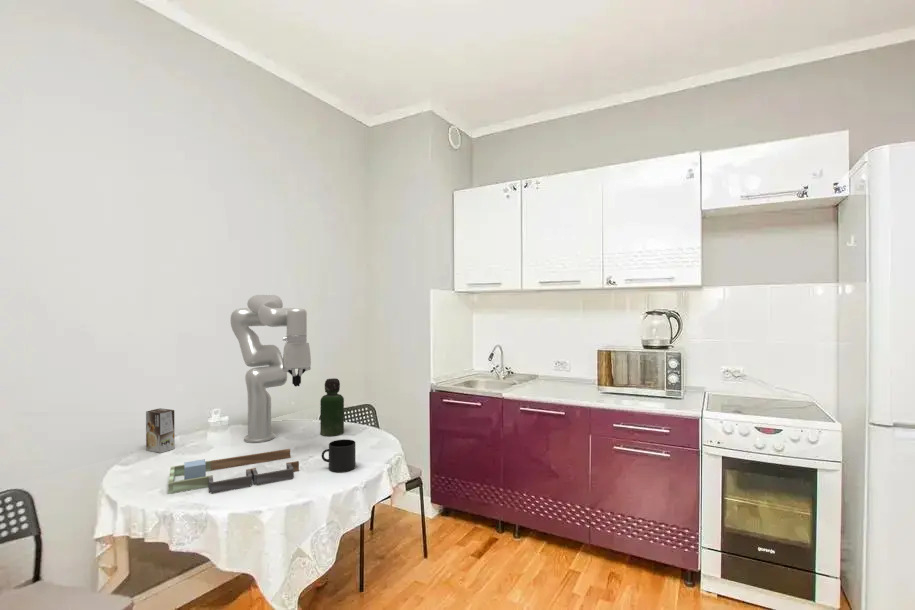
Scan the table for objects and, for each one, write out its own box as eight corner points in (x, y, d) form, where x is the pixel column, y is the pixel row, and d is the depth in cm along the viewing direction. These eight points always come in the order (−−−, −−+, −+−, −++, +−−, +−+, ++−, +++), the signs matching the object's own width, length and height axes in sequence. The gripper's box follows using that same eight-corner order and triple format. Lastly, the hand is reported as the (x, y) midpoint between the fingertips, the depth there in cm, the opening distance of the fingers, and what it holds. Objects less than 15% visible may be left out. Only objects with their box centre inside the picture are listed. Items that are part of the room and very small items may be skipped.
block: (184, 480, 153) (184, 462, 153) (204, 476, 156) (204, 459, 156) (184, 486, 148) (184, 467, 148) (205, 482, 151) (205, 464, 151)
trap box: (170, 476, 157) (170, 466, 157) (289, 456, 176) (289, 448, 176) (167, 501, 136) (167, 491, 136) (302, 476, 156) (302, 467, 156)
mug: (324, 464, 168) (324, 439, 168) (357, 463, 170) (357, 438, 170) (318, 473, 159) (318, 447, 159) (353, 472, 160) (353, 446, 160)
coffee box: (175, 448, 187) (175, 409, 187) (160, 453, 181) (160, 413, 181) (160, 446, 190) (160, 407, 190) (144, 450, 184) (145, 411, 184)
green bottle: (333, 429, 216) (333, 376, 216) (348, 432, 210) (348, 378, 210) (315, 434, 208) (315, 379, 208) (330, 438, 202) (330, 381, 202)
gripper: (278, 341, 173) (278, 389, 173) (318, 339, 181) (318, 385, 181) (275, 339, 180) (275, 386, 179) (313, 338, 187) (313, 382, 187)
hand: (296, 385), depth 180 cm, fingers closed
